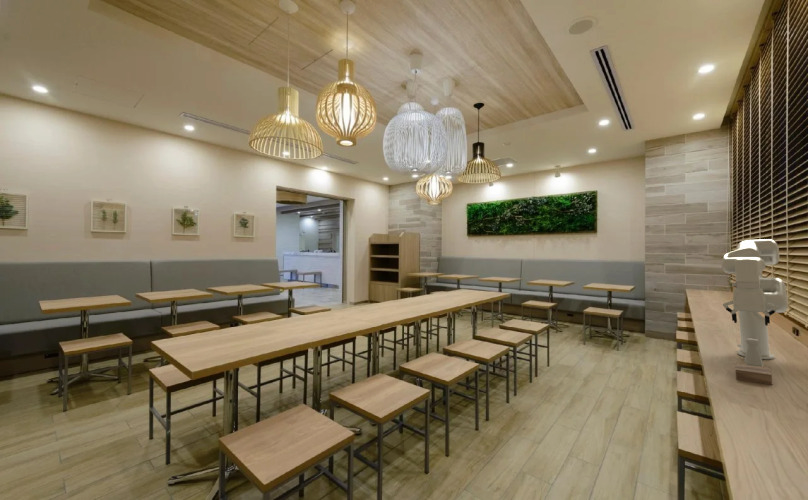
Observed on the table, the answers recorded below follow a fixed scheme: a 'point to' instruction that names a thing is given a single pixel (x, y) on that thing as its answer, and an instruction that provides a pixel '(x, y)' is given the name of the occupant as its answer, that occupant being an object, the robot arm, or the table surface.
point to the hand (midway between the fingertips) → (750, 323)
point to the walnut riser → (753, 374)
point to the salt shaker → (753, 353)
